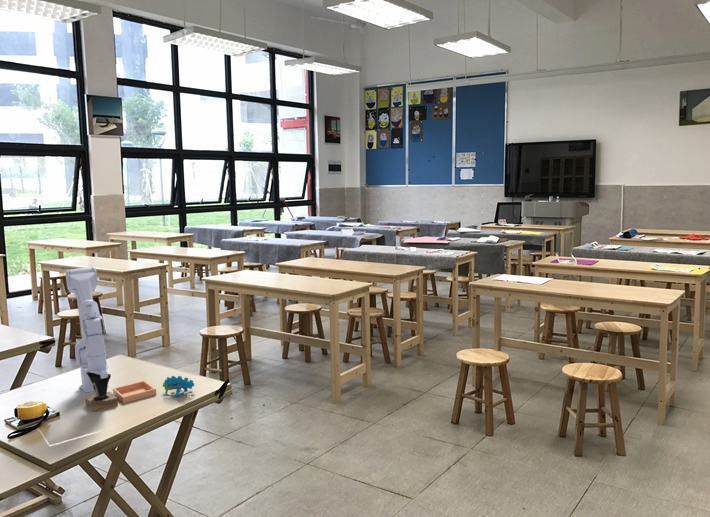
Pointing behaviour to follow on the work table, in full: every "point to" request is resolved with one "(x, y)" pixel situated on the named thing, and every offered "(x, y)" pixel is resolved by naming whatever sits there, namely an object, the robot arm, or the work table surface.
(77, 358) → the robot arm
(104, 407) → the pin block
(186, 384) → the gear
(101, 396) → the pin
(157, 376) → the work table surface
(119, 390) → the tray
